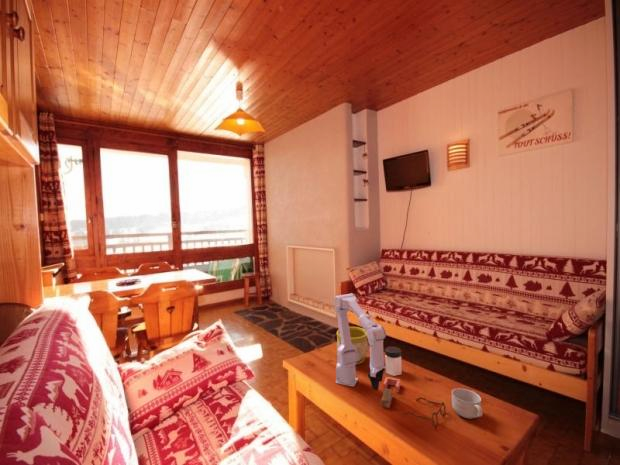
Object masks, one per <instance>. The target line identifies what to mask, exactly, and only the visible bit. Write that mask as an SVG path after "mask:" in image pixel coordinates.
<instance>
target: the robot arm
mask: <svg viewBox="0 0 620 465" xmlns="http://www.w3.org/2000/svg"><path fill="white" fill-rule="evenodd" d="M333 305H334V311H335V312H336V315H337V322H338V324H337V325H338V330H339V331H340V338H341V346H340V347H339V348H338V349H336V355H337V356H336V361H337V363H336V366H335V383H336V384H340V385H344V386H348V387H352V388H353V387H355V386H356V384H357V382H358V380H359V378H358V377H356V365H355V364H356V362H357V361H358V359H359V355H358V352H357V349H356V347H355V346H354V345H352V343H351V336H350V329H349V327H350V325H349V324H350V323H349V316H348V315H349V314H348V312H349V310H350V311H351V312H352V313H353V314H354V315H355V316H356V318H358V323H359V325H360V326H361V328H363V329H364V330H365V331H366V332H367V333H366V335H367V341H368V345H369V368H370V369H369V370H370V371H368V372H367V377H368V379H369V380H370V383H371V388H372V390H374V391H379V386H380V383H382V381H383V377H384V371H385V370H386V367H387V366H386V364H385V363H384V362H385V360H384V339H386V337H387V333H386V332H387V331H386V329H385V328H384V326H383V325H381V324H379V323H377V322H375V320H374V319H373V318H372V317H371V316H370V314H368V313H365V312H364V310H363V309H362V308H361V307H360V306H361V305H360V304H359V303H358V298H357V297H356V294H354V293H352V292H350V293H347V294H340V295H335V297H334V299H333Z"/></svg>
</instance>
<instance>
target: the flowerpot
mask: <svg viewBox="0 0 620 465" xmlns="http://www.w3.org/2000/svg"><path fill="white" fill-rule="evenodd" d="M349 329H350V336H351V343H352V345H354V346H355V347H356V349H357V352H358V355H359V359H358V361H357V362H356V364H355V366H357V365H360V364H362V363H363V362H365V360H366V356H367V354H368V349H369V343H368V338H367V335H366V333H367V332H366V331H365V330H364V328H363V327H359V326H349ZM336 340H337V341H336V348H337V349H338V348H339V347H340V346H341V338H340V331H339V329H337V331H336ZM337 349H336V350H337Z"/></svg>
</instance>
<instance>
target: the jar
mask: <svg viewBox="0 0 620 465" xmlns="http://www.w3.org/2000/svg"><path fill="white" fill-rule="evenodd" d="M384 354H385V355H384V356H385V358H384V359H385V360H384V362H385V363H384V364H386V366H387V367H386V368H385V374H387V375H389V376H392V377H397V376H400V375H402V373H403V372H402V349H401V348H400V347H398V346H387V347H385V349H384Z"/></svg>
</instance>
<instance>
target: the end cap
mask: <svg viewBox="0 0 620 465" xmlns="http://www.w3.org/2000/svg"><path fill="white" fill-rule="evenodd" d="M382 385H383V386H382V387H383V391H384V390H385V388H386V389H388V386H389V385H390V386H394V387H395V393H397V394H398V393H399V392H400V388H401V379H399V378H393V377H389V376H385V378H384V381H383V383H382Z"/></svg>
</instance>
